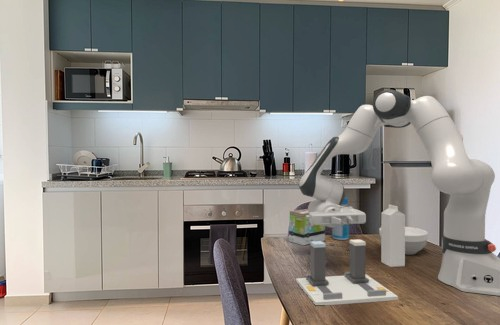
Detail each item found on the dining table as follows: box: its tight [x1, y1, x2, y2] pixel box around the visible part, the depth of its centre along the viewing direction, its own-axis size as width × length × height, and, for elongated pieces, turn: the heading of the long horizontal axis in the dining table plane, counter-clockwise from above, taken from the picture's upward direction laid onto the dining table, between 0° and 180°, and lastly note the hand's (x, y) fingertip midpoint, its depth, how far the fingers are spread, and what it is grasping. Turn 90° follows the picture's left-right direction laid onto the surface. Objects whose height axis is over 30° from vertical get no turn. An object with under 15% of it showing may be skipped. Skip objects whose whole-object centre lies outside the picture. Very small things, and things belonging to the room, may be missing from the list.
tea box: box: [288, 208, 326, 246], centre depth 159 cm, size 15×10×15 cm
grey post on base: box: [346, 239, 369, 283], centre depth 105 cm, size 5×5×12 cm
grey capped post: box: [307, 241, 329, 286], centre depth 103 cm, size 5×5×12 cm
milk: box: [380, 204, 406, 268], centre depth 124 cm, size 6×6×22 cm
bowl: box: [378, 226, 429, 256], centre depth 142 cm, size 19×19×9 cm
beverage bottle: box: [331, 197, 350, 241], centre depth 165 cm, size 8×8×20 cm
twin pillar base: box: [295, 271, 399, 306], centre depth 100 cm, size 24×18×2 cm
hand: (346, 222), depth 113 cm, fingers closed
